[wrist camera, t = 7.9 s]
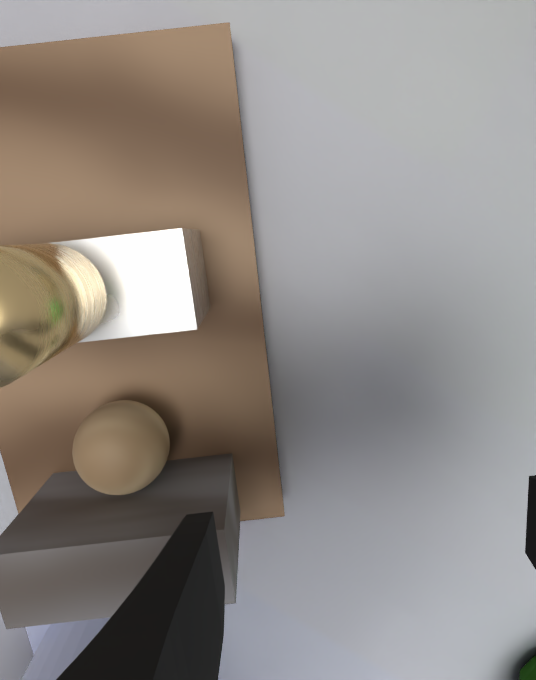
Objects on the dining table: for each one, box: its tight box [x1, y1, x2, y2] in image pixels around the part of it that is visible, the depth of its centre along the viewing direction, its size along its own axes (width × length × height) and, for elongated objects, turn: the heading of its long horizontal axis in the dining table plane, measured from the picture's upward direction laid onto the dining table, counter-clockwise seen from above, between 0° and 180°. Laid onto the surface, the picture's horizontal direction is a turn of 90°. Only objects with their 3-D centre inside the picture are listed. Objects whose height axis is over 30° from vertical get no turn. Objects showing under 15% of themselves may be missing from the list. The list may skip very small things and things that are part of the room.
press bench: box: [0, 23, 285, 629], centre depth 16 cm, size 20×12×6 cm, turn 6°
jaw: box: [0, 228, 210, 388], centre depth 13 cm, size 3×8×8 cm, turn 96°
